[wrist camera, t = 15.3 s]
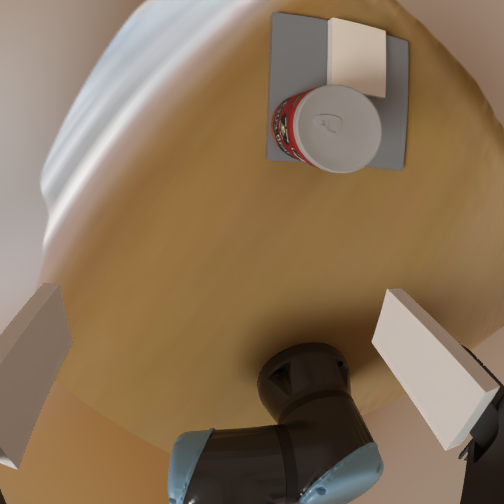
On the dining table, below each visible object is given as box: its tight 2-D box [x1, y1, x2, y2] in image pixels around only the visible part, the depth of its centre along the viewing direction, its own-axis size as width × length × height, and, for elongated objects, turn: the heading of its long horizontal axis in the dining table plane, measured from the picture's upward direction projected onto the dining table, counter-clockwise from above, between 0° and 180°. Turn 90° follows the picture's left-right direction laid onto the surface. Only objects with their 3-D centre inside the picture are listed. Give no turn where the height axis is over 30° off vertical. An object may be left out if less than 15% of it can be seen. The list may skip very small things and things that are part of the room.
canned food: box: [271, 84, 382, 173], centre depth 29 cm, size 8×8×11 cm
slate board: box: [266, 12, 408, 171], centre depth 33 cm, size 18×18×1 cm
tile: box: [327, 17, 386, 98], centre depth 31 cm, size 2×7×9 cm
